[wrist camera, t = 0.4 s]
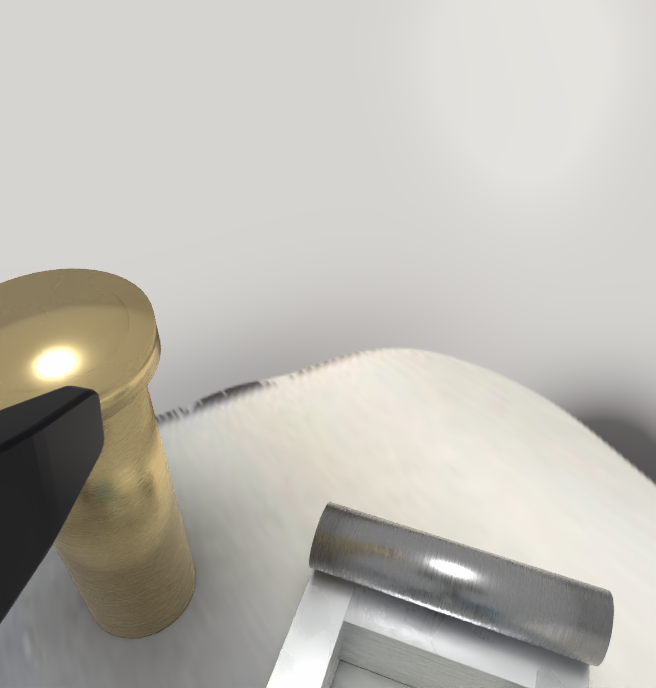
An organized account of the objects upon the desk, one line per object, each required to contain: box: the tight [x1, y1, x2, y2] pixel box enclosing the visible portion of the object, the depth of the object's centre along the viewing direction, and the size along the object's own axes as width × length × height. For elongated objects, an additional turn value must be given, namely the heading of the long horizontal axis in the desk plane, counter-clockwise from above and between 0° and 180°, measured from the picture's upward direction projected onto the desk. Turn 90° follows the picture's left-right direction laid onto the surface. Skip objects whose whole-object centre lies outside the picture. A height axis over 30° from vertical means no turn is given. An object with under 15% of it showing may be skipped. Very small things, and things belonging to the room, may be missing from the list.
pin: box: [0, 269, 196, 638], centre depth 19 cm, size 5×5×13 cm
